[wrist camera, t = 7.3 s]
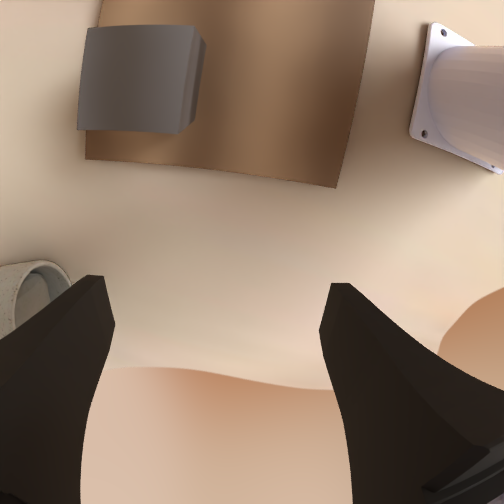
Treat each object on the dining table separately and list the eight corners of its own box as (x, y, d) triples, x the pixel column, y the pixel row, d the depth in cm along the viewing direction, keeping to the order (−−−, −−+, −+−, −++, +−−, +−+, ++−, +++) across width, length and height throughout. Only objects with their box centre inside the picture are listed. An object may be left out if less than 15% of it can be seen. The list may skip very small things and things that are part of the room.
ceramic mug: (-15, 252, 18) (-66, 311, 12) (54, 238, 18) (-4, 310, 12) (38, 346, 24) (9, 409, 17) (106, 347, 24) (82, 422, 17)
